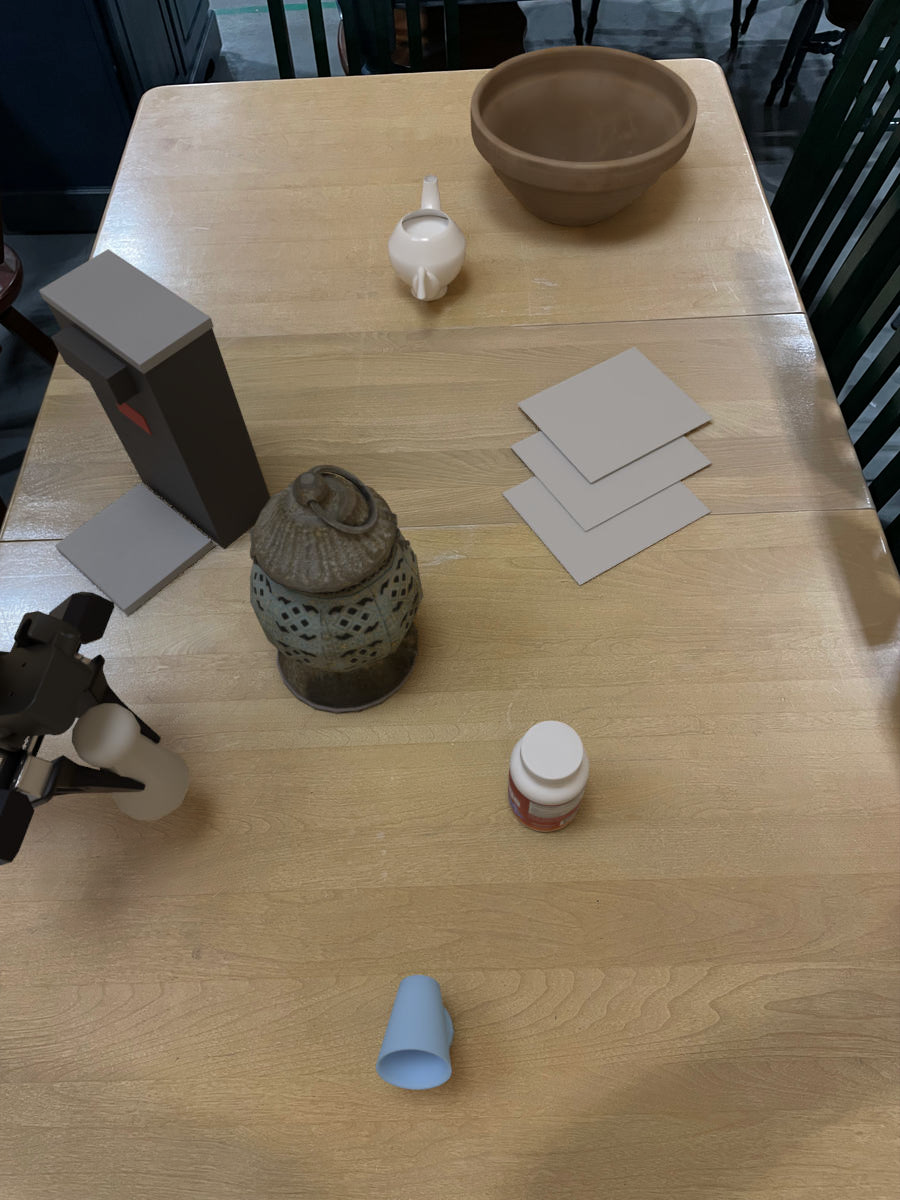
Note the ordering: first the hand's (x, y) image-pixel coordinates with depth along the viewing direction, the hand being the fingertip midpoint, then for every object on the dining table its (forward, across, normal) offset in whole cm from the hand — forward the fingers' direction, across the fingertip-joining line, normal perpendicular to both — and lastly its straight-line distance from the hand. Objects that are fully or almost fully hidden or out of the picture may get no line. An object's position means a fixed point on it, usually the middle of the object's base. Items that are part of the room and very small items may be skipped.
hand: (150, 765), depth 62 cm
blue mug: (+24, -14, -6) cm, 29 cm away
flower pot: (+28, +91, -11) cm, 96 cm away
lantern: (+16, +18, +2) cm, 24 cm away
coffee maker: (0, +30, +18) cm, 35 cm away
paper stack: (+32, +44, -15) cm, 57 cm away
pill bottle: (+29, +5, -12) cm, 32 cm away
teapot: (+16, +70, +1) cm, 72 cm away
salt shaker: (+4, 0, +6) cm, 7 cm away
